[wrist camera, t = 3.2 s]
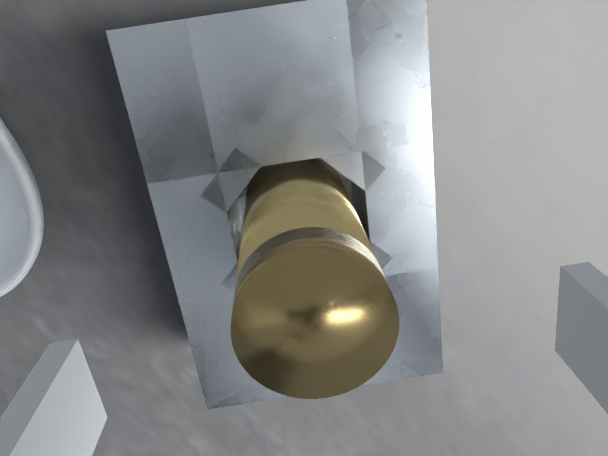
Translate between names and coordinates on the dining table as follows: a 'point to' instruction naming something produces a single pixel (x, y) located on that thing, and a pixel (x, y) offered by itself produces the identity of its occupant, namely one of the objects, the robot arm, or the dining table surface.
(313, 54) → the bore housing
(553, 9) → the dining table surface
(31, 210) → the spoon rest
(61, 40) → the dining table surface
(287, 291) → the gold capped cylinder
